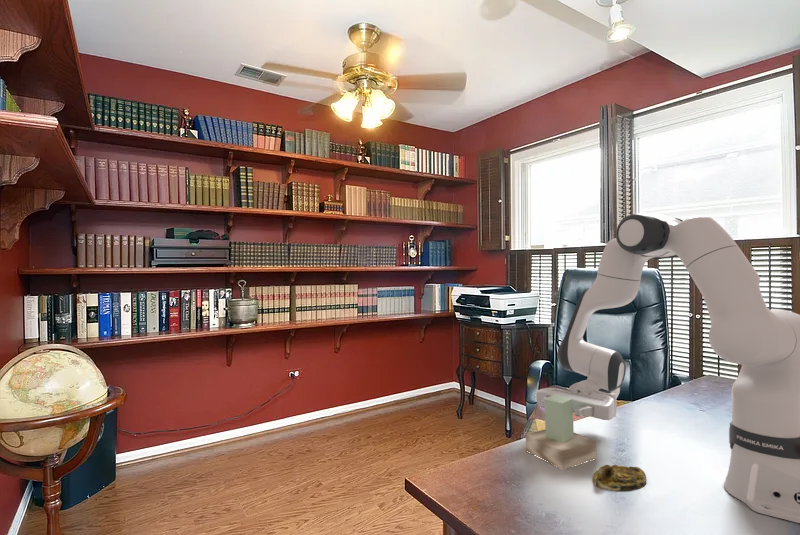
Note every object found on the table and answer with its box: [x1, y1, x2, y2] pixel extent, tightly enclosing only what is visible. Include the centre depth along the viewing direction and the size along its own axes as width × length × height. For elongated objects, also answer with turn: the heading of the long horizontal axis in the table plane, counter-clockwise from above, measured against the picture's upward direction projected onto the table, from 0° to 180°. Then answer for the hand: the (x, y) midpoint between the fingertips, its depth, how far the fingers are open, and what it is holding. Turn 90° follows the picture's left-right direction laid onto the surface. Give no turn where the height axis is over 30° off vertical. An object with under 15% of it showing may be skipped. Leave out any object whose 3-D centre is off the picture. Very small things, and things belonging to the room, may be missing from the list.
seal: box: [592, 464, 648, 492], centre depth 97 cm, size 9×5×15 cm
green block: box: [544, 394, 575, 443], centre depth 110 cm, size 5×5×10 cm
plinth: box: [525, 428, 597, 471], centre depth 109 cm, size 12×12×5 cm
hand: (559, 408), depth 110 cm, fingers open, 8 cm apart
